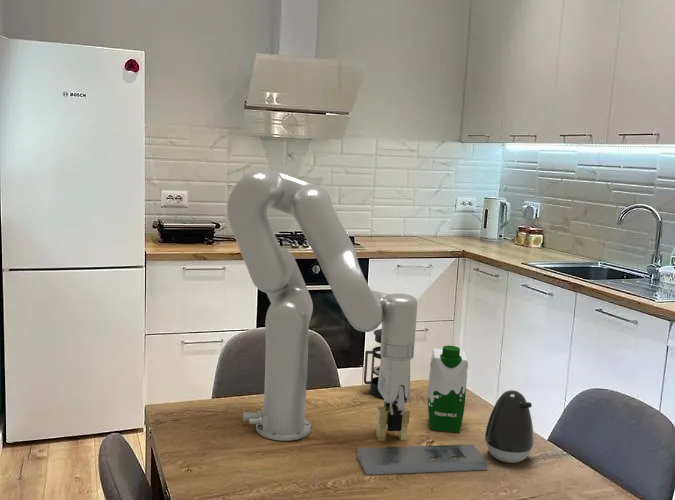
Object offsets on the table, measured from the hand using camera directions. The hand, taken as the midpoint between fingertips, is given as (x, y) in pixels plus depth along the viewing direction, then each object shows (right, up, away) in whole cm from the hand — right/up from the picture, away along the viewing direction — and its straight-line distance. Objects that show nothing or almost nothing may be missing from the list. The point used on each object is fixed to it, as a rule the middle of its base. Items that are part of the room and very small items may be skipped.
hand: (391, 426), depth 154 cm
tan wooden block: (0, -3, 0) cm, 3 cm away
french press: (0, +1, +29) cm, 29 cm away
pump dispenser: (+25, -5, -7) cm, 26 cm away
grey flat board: (+5, -5, -12) cm, 14 cm away
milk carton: (+13, -2, +9) cm, 16 cm away
